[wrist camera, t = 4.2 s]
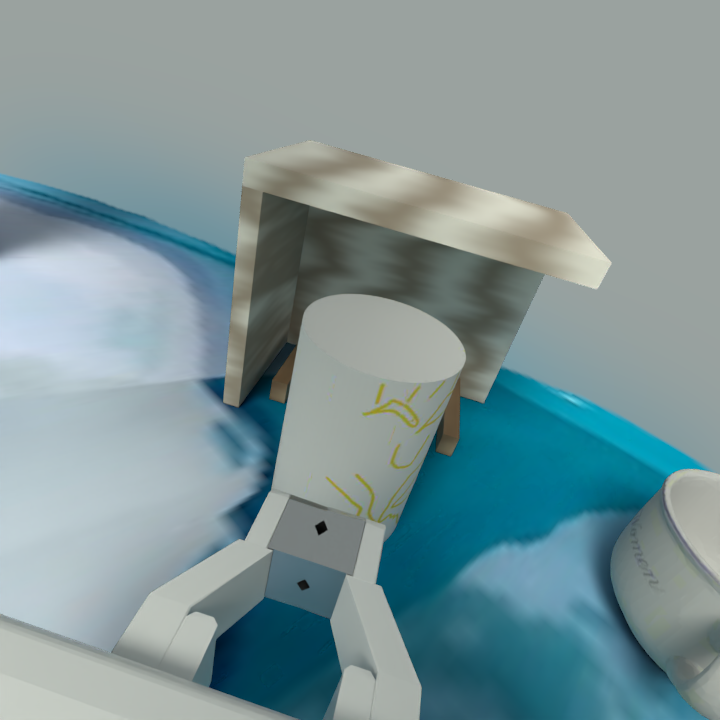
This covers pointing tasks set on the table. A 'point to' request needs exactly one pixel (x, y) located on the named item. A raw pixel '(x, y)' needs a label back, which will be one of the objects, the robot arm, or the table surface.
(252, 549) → the robot arm
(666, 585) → the teacup
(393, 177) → the marbled side table
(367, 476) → the cup
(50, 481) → the table surface
